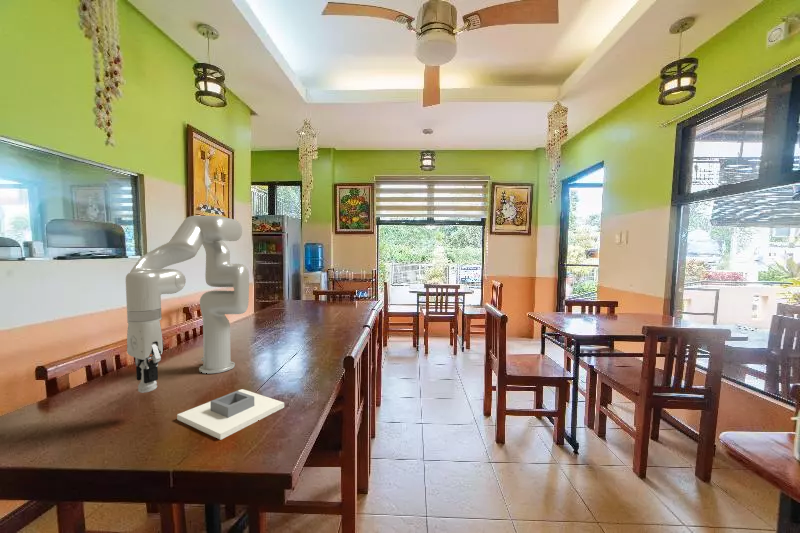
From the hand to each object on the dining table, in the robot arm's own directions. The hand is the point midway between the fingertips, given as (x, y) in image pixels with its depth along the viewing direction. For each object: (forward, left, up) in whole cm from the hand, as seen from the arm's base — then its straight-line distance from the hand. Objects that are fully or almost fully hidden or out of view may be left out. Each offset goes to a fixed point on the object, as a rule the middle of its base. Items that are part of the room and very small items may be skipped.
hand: (147, 379), depth 92 cm
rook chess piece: (0, 0, -3) cm, 3 cm away
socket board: (+18, +13, -11) cm, 25 cm away
